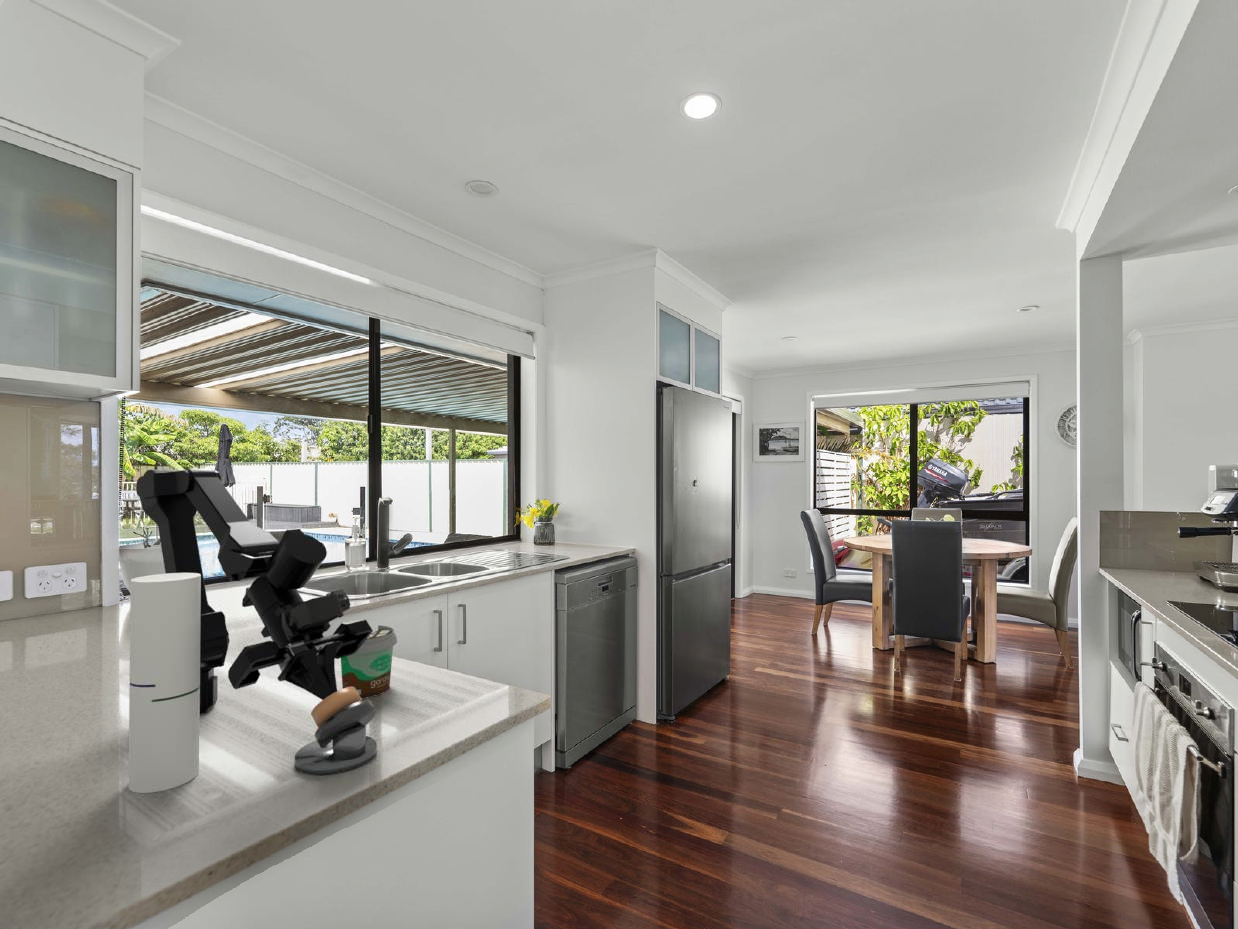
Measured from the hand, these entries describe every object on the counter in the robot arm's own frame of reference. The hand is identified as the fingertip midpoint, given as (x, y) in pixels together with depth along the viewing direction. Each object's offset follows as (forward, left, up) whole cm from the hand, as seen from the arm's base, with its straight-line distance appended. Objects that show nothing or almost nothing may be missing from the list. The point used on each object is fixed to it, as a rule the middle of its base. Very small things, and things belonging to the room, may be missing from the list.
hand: (333, 701), depth 85 cm
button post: (0, 0, -7) cm, 7 cm away
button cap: (0, 0, -4) cm, 4 cm away
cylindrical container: (-19, 0, -8) cm, 21 cm away
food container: (+4, +25, -8) cm, 27 cm away
